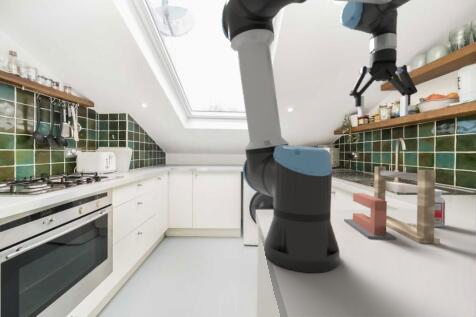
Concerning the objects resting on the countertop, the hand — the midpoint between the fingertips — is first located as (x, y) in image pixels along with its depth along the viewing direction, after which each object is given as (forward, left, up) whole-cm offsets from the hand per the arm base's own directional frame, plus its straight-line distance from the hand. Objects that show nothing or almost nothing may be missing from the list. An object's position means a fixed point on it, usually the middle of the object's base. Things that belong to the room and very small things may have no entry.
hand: (382, 116), depth 74 cm
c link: (-9, -10, -34) cm, 37 cm away
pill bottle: (+14, -2, -35) cm, 38 cm away
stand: (+1, -8, -35) cm, 36 cm away
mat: (-9, -10, -35) cm, 37 cm away
